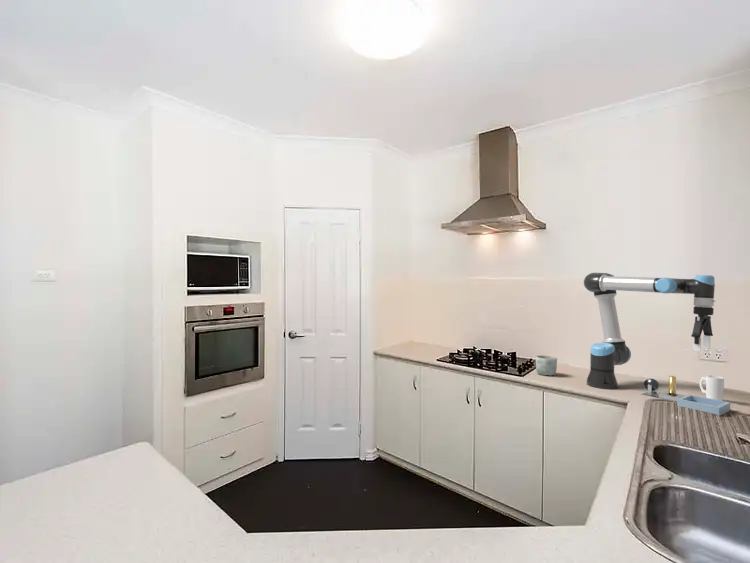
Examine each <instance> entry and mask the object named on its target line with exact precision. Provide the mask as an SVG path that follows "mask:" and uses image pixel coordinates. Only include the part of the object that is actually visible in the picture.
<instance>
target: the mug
mask: <svg viewBox="0 0 750 563" xmlns="http://www.w3.org/2000/svg"><path fill="white" fill-rule="evenodd" d="M704 381H705V389H704V387H703V382H704ZM699 388H700V391H701V393H703V394H705V396H706V397H705V398H710V399H715V400H720V401H724V391H725V390H724V389H725V377H722V376H720V375H708V374H707V375H705V376H701V378H700V380H699Z"/></svg>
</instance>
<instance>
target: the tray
mask: <svg viewBox="0 0 750 563" xmlns="http://www.w3.org/2000/svg"><path fill="white" fill-rule="evenodd" d="M676 406H677V407H682V408H687V409H691V410H695V411H701V412H705V413H710V414H714V416H717V417H720V416H723V415H724V414H726V413H728V412H730V411H731V402H730V401H724V400H723V401H720V400H715V399H710V398H706V397H703V396H700V395H699V396H698V395H694V394H686V396H684V397H681V398H679V399H677V402H676ZM729 410H730V411H729Z"/></svg>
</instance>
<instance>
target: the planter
mask: <svg viewBox="0 0 750 563" xmlns="http://www.w3.org/2000/svg"><path fill="white" fill-rule="evenodd" d="M557 366H558V358H557V357H556V356H551V355H536V356H535V370H536V373H537V374H539V375H540V374H541V376H545V375H549V377H550V376H551V377H553V376H555V375H556V373H557V368H558V367H557ZM552 375H553V376H552Z"/></svg>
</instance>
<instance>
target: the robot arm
mask: <svg viewBox="0 0 750 563" xmlns="http://www.w3.org/2000/svg"><path fill="white" fill-rule="evenodd" d="M583 285H584V286H583V287H584V288H585V289H586V290H587V291H589V292H591V293H593V297H594V298H596V299H597V304H598V310H599V316H600V320H601V326H602V332H603V338H604V339H603V340H602V342H596V343H592V344H591V346H590V350H589V352H590V357H589V358H590V367H589V368H590V370H589V374H588V376H587V379H586V385H588V386H589V387H594V388H599V389H604V390H614V389H618V388H619V384H618V381H617V377H616V374H615V366H622V365H625V364H626V363H628V362H629V361H630V360H631V357H632V353H631V352H632V351H631V350H630V347H628V346H627V345H626V341H625V340H624V339H623V338H622V334H621V328H620V324H619V317H618V312H617V305H616V301H615V297H616V296H617V295H618V293H617V291H623V292H624V291H626V292H639V293H640V292H642V293H643V292H644V293H656V294H657V293H661V294H685V295H687V294H690V295H693V315H698V316H694V324H693V329H692V333H691V337H692V338H693V342H692V343H693V346H692V347H693V348H692V349H693V351H695V352H701V351H702V349H706V350H711V337H713V335H714V334H713V329H712V328H713V326H712V321H711V320H712V316H714V303H716V300H715V288H716V287H715V286H716V283H715V276H713V275H710V274H709V275H708V274H702V275H701V274H699V275H698V274H697V275H695V276H694V278H674V277H671V278H670V277H645V276H643V277H641V276H639V277H637V276H615V275H614V274H611V273H607V272H591V273H588V274H587V275H586V276H585V277H584V279H583ZM702 332H703V335H702ZM701 335H702V336H701Z"/></svg>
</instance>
